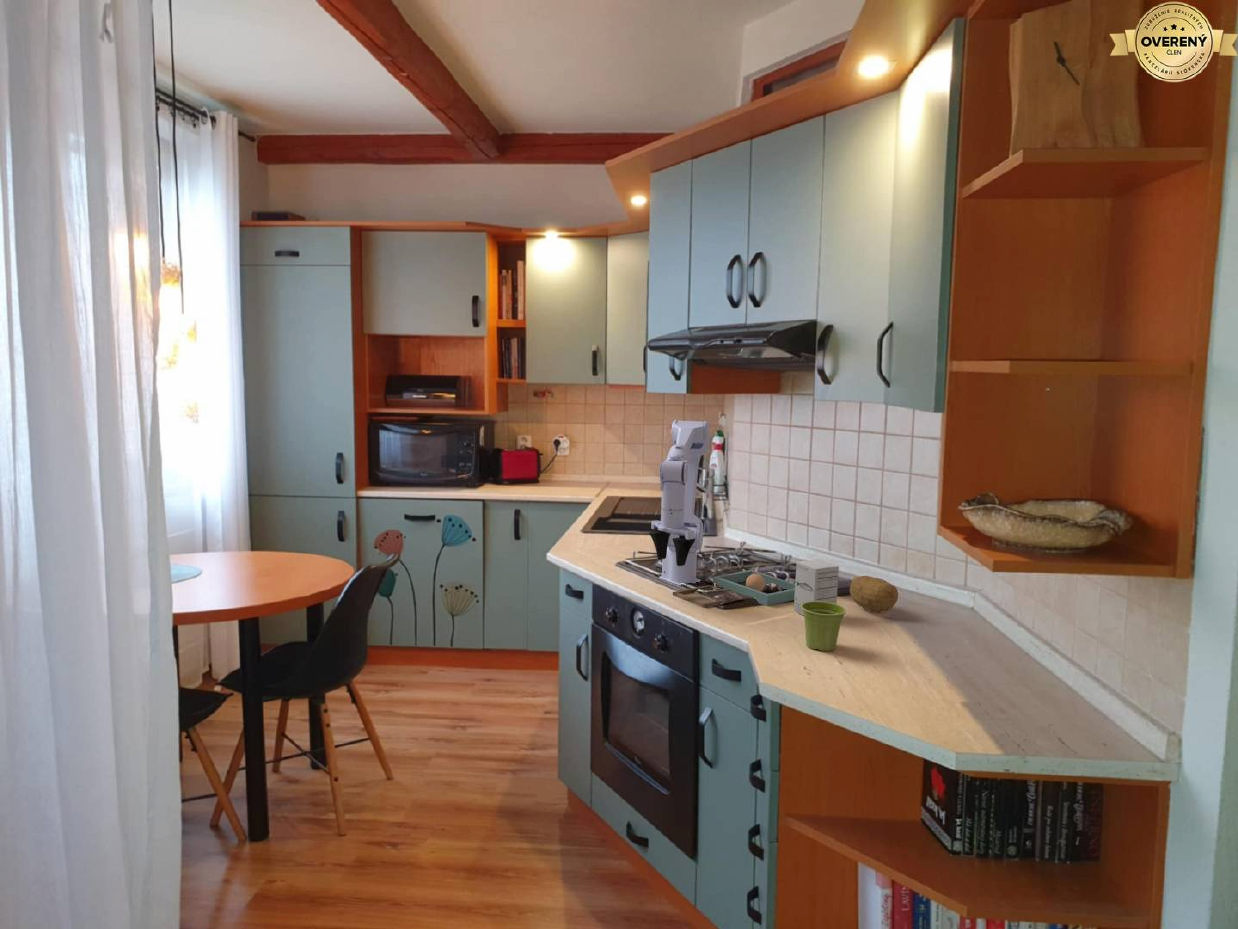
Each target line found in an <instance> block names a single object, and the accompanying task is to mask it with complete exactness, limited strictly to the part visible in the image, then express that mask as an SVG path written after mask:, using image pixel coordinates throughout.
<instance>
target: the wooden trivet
mask: <svg viewBox="0 0 1238 929" xmlns="http://www.w3.org/2000/svg"><path fill="white" fill-rule="evenodd" d="M709 587H712V588H715V587H713V585H711V584H708V585H703V586H698V587H692V588H686V589H682V590H677V591H673V592H672V596H674V597H676V598H679V599H682V600H684V601H686V602H688V603H691V604H693V605H696V606H699V607H701V608H704V609H708V608H713V607H718V606H721V605H720V603H722V602H723V601H727V600H720V601H715V602H712V601H711V600H709V599H707V598H705V597H703V596H701V595H699V594H698V593H695V591H696V590H698V589H706V588H709ZM715 589H720V588H717V587H716V588H715ZM724 591H725V590H724ZM729 593H730V594H732V595H736V594H734V593H731V592H729Z"/></svg>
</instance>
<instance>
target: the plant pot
mask: <svg viewBox="0 0 1238 929" xmlns="http://www.w3.org/2000/svg"><path fill="white" fill-rule="evenodd" d="M801 609H802V610H803V615H802V616H803V617H804V618H803V619H804V629H805V630H804V631H805V643H806V646H807V647H808V648H810V649H811V650H819V651H821V652H829V651H833V650H834V649H836V647H837V644H838V643H837V642H838V637H839V634H840V629H841V624H842V620H843V618H844V615H845V614H846V613H847V608H846V607H845V606H842V605H841V604H835V603H829V602H823V601H809V602H805V603H803V604H801Z"/></svg>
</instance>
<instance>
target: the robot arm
mask: <svg viewBox="0 0 1238 929" xmlns="http://www.w3.org/2000/svg"><path fill="white" fill-rule="evenodd" d="M710 431H711V429H710V423H709V422H708V421H707V420H705V421H699V420H698V421H697V420H695V421H694V420H677V419H674V421H673V422H672V425H671V434H670V435H671V441H672V445H673V446H671V447H670V449H669V451H668V454H667V457H666V460H665V459H664V462H660V466H659V483H660V486H659V487H660V491H661V500H660V501H661V504H660V507H661V509H660V511H661V512H660V513H661V514H660V515H661V516H660V520H652V521H651V522H650V523H651V525H650V526H651V527H650V528H651V529H652V530H653V531H649V536H650V537H651V540H652V542H653V544H654V545H653V546H654V547H655V548H654V549H655V551H656V556H657V557H656V558H657V559H658V560H659V561H660V560H661V561H662V563H661V576H659V579H660V580H665V581H666V582H670V583H672V584H675V585H677V586H680V587H681V584H680V583H693V584H697V583H696V582H699V583H701V582H700V581H701V580H702V579H700V578H697V554H698V550H700V549H701V548H702V547H703V542H704V523H703V521H702V519H700V518H699V517H698V516H697V515H695V508H696V506H695V505H696V497H697V486H698V485H697V484H698V477H699V476H698V474H699V464H700V461H701V457H702V456H704V455H705V454H708V450H709V443H710V442H709V441H710Z"/></svg>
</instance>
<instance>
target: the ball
mask: <svg viewBox="0 0 1238 929" xmlns="http://www.w3.org/2000/svg"><path fill="white" fill-rule="evenodd" d="M745 586H746V587H749V588H751V589H754V590H757V591H760V592H763V591H764V589H765V588H766V587H765V580H764V578H763V577H762V576H761V575H759V574H751V575H750V576H749V577H748V578H747V580H746V582H745Z"/></svg>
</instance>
